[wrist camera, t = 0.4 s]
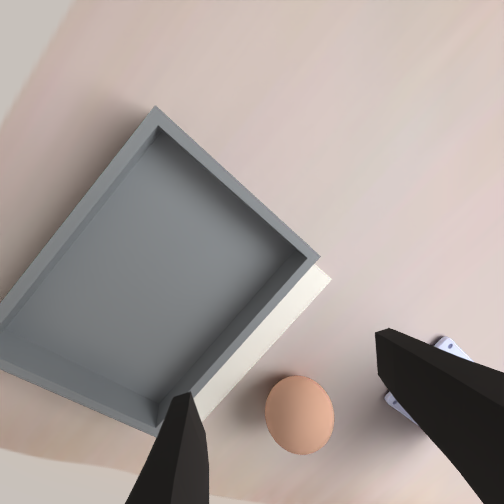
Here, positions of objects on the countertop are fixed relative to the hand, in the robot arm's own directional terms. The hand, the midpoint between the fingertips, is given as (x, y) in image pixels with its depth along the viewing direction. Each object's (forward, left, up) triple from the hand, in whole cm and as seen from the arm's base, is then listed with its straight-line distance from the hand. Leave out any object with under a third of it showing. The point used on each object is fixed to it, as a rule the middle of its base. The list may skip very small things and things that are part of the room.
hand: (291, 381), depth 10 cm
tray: (+4, +3, -10) cm, 11 cm away
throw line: (-4, +4, -10) cm, 11 cm away
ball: (-9, +5, -7) cm, 13 cm away
